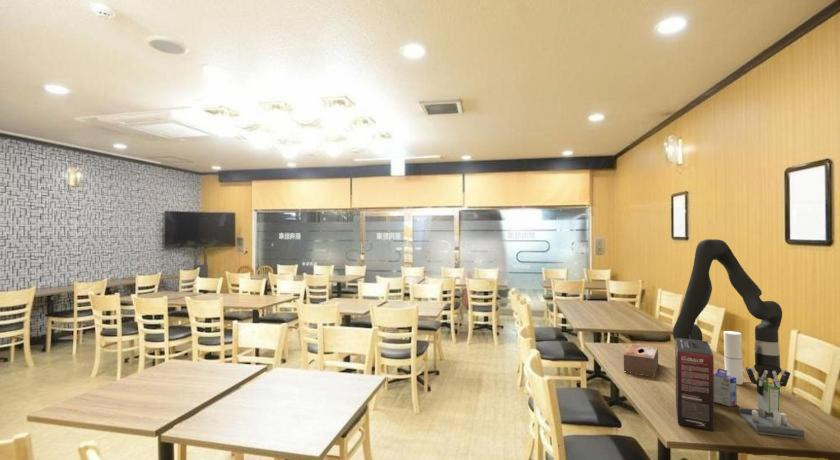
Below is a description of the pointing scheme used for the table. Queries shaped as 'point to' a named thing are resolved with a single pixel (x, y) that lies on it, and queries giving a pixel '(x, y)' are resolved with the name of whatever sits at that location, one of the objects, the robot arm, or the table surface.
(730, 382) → the ink cartridge box
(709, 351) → the headset box
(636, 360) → the tissue box cover
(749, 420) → the tray
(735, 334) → the cylindrical container
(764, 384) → the ink box
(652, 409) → the table surface
